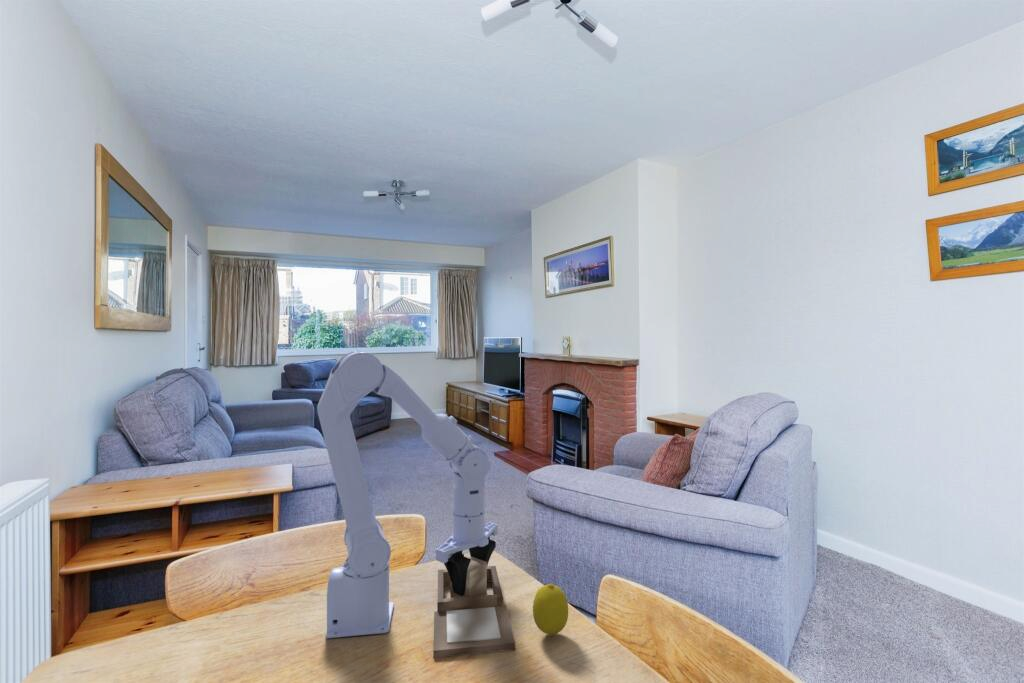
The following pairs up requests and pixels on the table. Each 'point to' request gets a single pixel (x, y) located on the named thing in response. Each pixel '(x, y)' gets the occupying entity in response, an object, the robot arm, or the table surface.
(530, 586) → the table surface
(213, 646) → the table surface
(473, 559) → the block
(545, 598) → the lemon
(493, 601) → the brown divided tray
